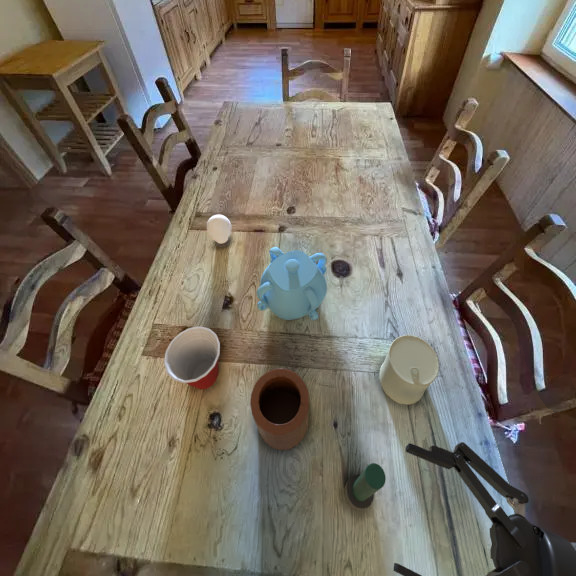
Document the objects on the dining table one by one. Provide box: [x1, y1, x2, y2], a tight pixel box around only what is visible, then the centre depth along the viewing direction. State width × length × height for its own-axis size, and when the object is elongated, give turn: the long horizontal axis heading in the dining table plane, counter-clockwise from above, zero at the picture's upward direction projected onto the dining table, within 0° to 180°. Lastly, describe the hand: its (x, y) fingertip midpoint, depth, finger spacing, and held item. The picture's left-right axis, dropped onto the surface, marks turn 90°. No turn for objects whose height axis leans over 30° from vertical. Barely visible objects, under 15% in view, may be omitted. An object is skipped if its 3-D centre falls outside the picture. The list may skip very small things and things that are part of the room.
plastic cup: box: [163, 325, 221, 390], centre depth 70 cm, size 11×11×12 cm
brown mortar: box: [249, 367, 310, 451], centre depth 63 cm, size 10×10×13 cm
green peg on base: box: [343, 462, 386, 512], centre depth 51 cm, size 4×4×22 cm
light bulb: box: [206, 213, 233, 248], centre depth 96 cm, size 7×7×11 cm
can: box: [378, 334, 440, 406], centre depth 67 cm, size 9×9×12 cm
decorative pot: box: [256, 246, 328, 321], centre depth 82 cm, size 16×16×14 cm
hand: (401, 501), depth 49 cm, fingers open, 13 cm apart
